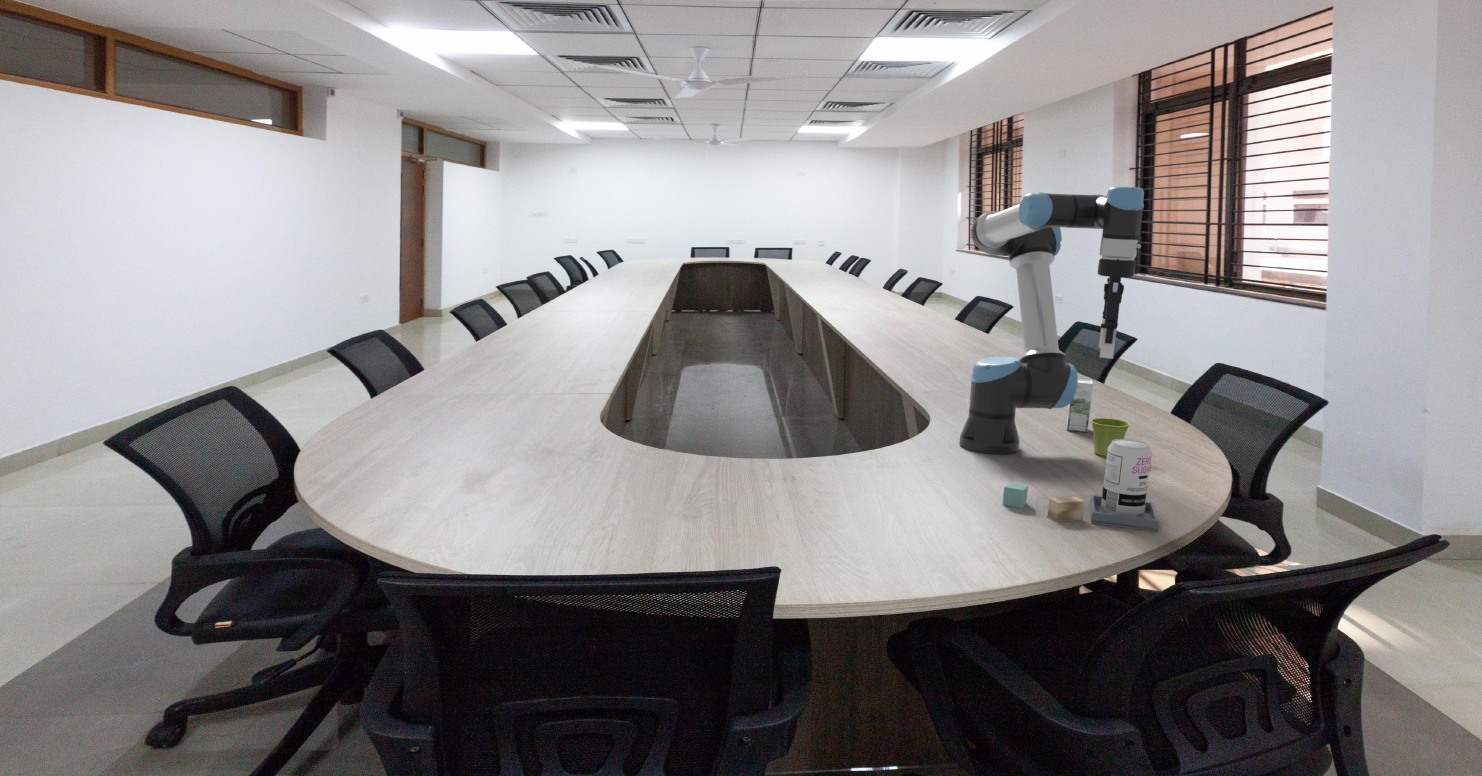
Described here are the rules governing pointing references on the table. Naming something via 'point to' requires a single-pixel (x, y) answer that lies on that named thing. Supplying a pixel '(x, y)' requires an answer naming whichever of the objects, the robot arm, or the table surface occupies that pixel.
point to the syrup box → (1080, 407)
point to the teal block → (1015, 495)
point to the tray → (1123, 517)
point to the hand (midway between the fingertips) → (1105, 353)
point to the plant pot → (1107, 433)
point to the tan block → (1065, 508)
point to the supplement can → (1126, 478)
